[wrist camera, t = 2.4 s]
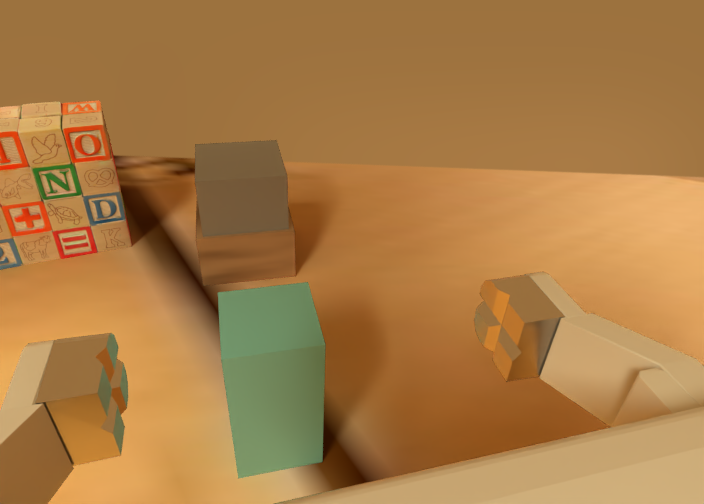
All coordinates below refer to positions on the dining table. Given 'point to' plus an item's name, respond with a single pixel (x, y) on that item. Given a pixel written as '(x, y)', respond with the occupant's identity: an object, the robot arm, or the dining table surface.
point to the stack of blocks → (58, 184)
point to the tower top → (241, 187)
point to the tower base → (246, 255)
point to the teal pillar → (273, 376)
